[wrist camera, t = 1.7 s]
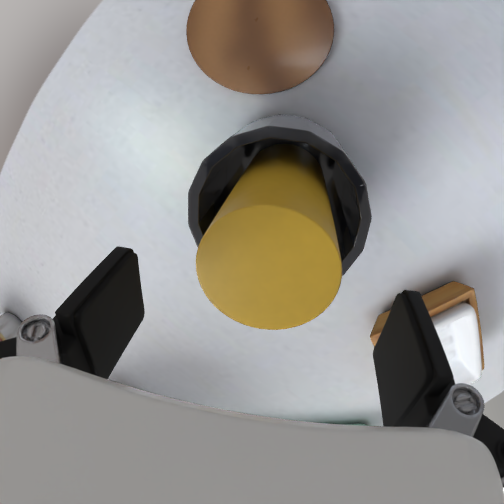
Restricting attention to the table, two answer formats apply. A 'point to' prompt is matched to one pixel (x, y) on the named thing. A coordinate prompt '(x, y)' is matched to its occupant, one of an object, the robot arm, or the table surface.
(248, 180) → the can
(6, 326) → the cupcake
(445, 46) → the table surface
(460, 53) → the table surface
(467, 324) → the soap dish
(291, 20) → the coaster
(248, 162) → the mug
